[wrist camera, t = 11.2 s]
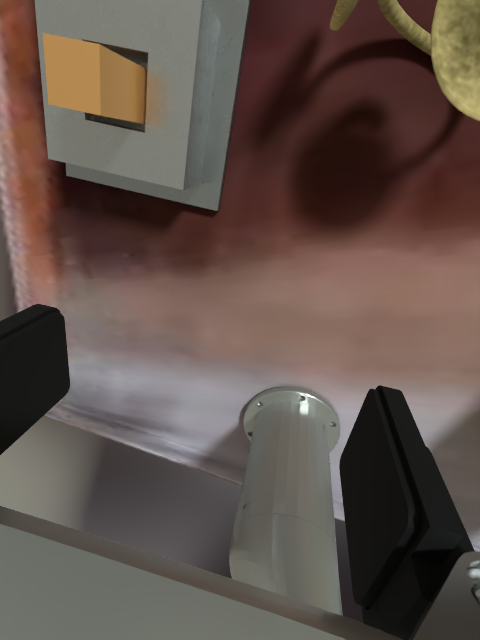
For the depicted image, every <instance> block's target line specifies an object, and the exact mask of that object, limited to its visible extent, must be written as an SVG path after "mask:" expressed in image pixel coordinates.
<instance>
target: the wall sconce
mask: <svg viewBox="0 0 480 640" xmlns="http://www.w3.org/2000/svg"><path fill="white" fill-rule="evenodd" d="M377 1H378V4H379V7H380V9H381V11H382V13H383V14H384V16H385V18H386V19H387V20H388V21H389V23H390V24H391V25H392V26H393V27H394V28H395V29H396V30H397V31H398V32H399V33H400V34H401V35H402V36H403V37H404V38H405V39H407V40H408V41H409V42H411V43H412V44H413V45H415V46H416V47H417V48H419V49H420V50H422V51H424V52H425V53H427V54H428V55H430V56H431V58H432V64H433V70H434V73H435V76H436V79H437V82H438V84H439V86H440V88H441V90H442V92H443V94H444V95H445V96H446V98H447V99H448V100H449V102H450V103H451V104H452V105H453V106H454V107H455V108H456V109H458V110H459V111H460V112H462V113H463V114H465V115H466V116H468V117H471V118H473V119H475V120H478V121H480V0H438V1H437V4H436V8H435V12H434V17H433V22H432V30H431V34H429V33H428V32H426V31H425V30H424V29H422V28H421V27H420V26H419V25H418V24H416V23H415V22H414V21H413V20H412V19H411V18H410V17H409V16H408V15H407V14H406V13H405V11H404V10H403V9H402V8H401V6H400V5H399V3H398V2H397V0H377ZM357 2H358V0H338V1H337V4H336V6H335V9H334V12H333V15H332V18H331V22H330V27H329V28H330V29H331V30H334V31H337V30H339V29H340V28H341V27H342V26H343V25H344V23H345V22H346V21H347V19H348V18H349V16H350V14H351V13H352V11H353V9H354V8H355V6H356V4H357Z"/></svg>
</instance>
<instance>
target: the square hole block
mask: <svg viewBox="0 0 480 640" xmlns="http://www.w3.org/2000/svg"><path fill="white" fill-rule="evenodd" d="M251 5H252V0H35V8H36V20H37V32H38V43H39V55H40V67H41V78H42V90H43V102H44V113H45V125H46V137H47V149H48V159H51V160H56V161H60V162H64V163H66V176H70V177H74V178H79V179H83V180H87V181H91V182H96V183H100V184H104V185H108V186H113V187H117V188H121V189H125V190H130V191H134V192H138V193H142V194H147V195H151V196H155V197H159V198H164V199H168V200H172V201H176V202H181V203H185V204H189V205H193V206H198V207H202V208H206V209H210V210H215V211H219V210H220V205H221V199H222V192H223V186H224V180H225V173H226V167H227V160H228V154H229V147H230V141H231V134H232V128H233V121H234V115H235V108H236V102H237V95H238V89H239V82H240V76H241V69H242V63H243V56H244V50H245V44H246V37H247V31H248V24H249V18H250V11H251ZM43 33H46V34H51V35H56V36H61V37H66V38H71V39H76V40H81V41H86V42H91V43H96V44H100V45H102V46H104V47H106V48H108V49H110V50H111V51H113V52H115V53H117V54H119V55H121V56H123V57H124V58H126V59H128V60H130V61H132V62H134V63H136V64H138V65H139V66H141V67H143V68H145V69H147V70H148V72H147V96H146V119H145V124H142V123H136V122H131V121H126V120H121V119H115V118H110V117H105V116H100V115H95V114H91V113H86V112H81V111H77V110H72V109H68V108H63V107H58V106H54V105H49V104H48V92H47V80H46V68H45V56H44V43H43Z"/></svg>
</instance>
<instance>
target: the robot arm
mask: <svg viewBox="0 0 480 640" xmlns="http://www.w3.org/2000/svg"><path fill="white" fill-rule="evenodd" d="M69 388H70V377H69V366H68V354H67V343H66V332H65V320H64V316H63V315H62V314H61V313H60V311H59V310H58V309H57V308H54V307H50V306H46V305H42V304H36V305H33V306H31V307H29V308H27V309H25V310H23V311H21V312H19V313H17V314H14V315H12V316H10V317H8V318H6V319H4V320H2V321H0V455H1V454H2V453H3V452H4V451H5V450H6V449H8V448H9V446H11V445H12V444H13V443H14V442H15V441H16V440H17V439H18V438H19V437H20V436H22V435H23V434H24V433H25V432H26V431H27V430H28V429H29V428H30V427H31V426H32V425H34V424H35V423H36V422H37V421H38V420H39V419H40V418H41V417H42V416H43V415H45V414H46V413H47V412H48V411H49V410H50V409H51V408H52V407H53V406H54V405H55V404H56V403H58V402H59V401H60V400H61V399H62V398H63V397H64V396H65V395H66V394H67V392H68V390H69ZM243 427H244V431H245V434H246V436H247V438H248V440H249V441H250V442H251V443H250V448H249V454H248V459H247V464H246V469H245V474H244V479H243V484H242V490H241V494H240V499H239V505H238V510H237V515H236V520H235V525H234V530H233V535H232V541H231V546H230V570H231V575H232V579H230V578H227V577H224V576H221V575H218V574H215V573H211V572H208V571H205V570H202V569H199V568H196V567H193V566H189V565H187V564H183V563H180V562H177V561H174V560H171V559H168V558H164V557H161V556H158V555H155V554H152V553H149V552H146V551H142V550H139V549H136V548H133V547H130V546H127V545H124V544H120V543H117V542H114V541H111V540H107V539H104V538H101V537H98V536H95V535H92V534H88V533H85V532H82V531H79V530H76V529H72V528H69V527H66V526H63V525H60V524H57V523H53V522H50V521H47V520H44V519H40V518H37V517H34V516H31V515H28V514H24V513H21V512H18V511H15V510H12V509H8V508H5V507H2V506H0V640H480V552H476V551H474V549H473V546H472V544H471V542H470V540H469V537H468V535H467V533H466V530H465V528H464V526H463V524H462V521H461V519H460V517H459V515H458V512H457V510H456V508H455V506H454V503H453V501H452V499H451V497H450V494H449V492H448V490H447V487H446V485H445V483H444V481H443V478H442V476H441V474H440V472H439V469H438V467H437V465H436V463H435V460H434V458H433V456H432V453H431V452H430V450H429V449H428V448H427V447H426V446H425V444H424V442H423V439H422V437H421V435H420V432H419V430H418V428H417V425H416V423H415V421H414V418H413V416H412V414H411V411H410V409H409V407H408V405H407V402H406V400H405V398H404V395H403V393H402V392H401V391H400V390H397V389H392V388H388V387H384V386H378V387H377V388H376V389H375V390H374V389H370V390H369V391H368V393H367V395H366V398H365V400H364V403H363V405H362V407H361V410H360V412H359V415H358V417H357V419H356V422H355V424H354V427H353V429H352V431H351V434H350V436H349V439H348V441H347V443H346V446H345V448H344V450H343V453H342V455H341V459H340V478H341V487H342V496H343V505H344V515H345V523H346V533H347V542H348V551H349V561H350V569H351V579H352V589H353V596H354V601H355V603H356V604H357V605H360V606H362V614H363V622H364V624H363V623H361V622H358V621H356V620H353V619H350V618H347V617H344V616H343V615H342V606H341V596H340V586H339V576H338V563H337V550H336V536H335V524H334V510H333V498H332V485H331V471H330V458H329V452H330V451H331V450H332V449H334V447H335V446H336V444H337V442H338V440H339V437H340V424H339V419H338V416H337V413H336V412H335V410H334V409H333V407H332V406H331V405H330V404H329V403H328V402H327V401H326V400H325V399H323V398H322V397H321V396H319V395H317V394H315V393H313V392H311V391H308V390H305V389H302V388H296V387H278V388H272V389H269V390H266V391H264V392H262V393H260V394H258V395H257V396H256V397H255V398H253V399H252V400H251V402H250V403H249V404H248V406H247V408H246V411H245V414H244V418H243ZM378 629H379V630H378ZM381 630H382V631H381Z"/></svg>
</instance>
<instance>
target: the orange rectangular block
mask: <svg viewBox="0 0 480 640" xmlns="http://www.w3.org/2000/svg"><path fill="white" fill-rule="evenodd" d="M43 43H44V56H45V68H46V80H47V92H48V104H49V105H54V106H58V107H63V108H68V109H72V110H77V111H81V112H86V113H91V114H95V115H100V116H105V117H110V118H115V119H121V120H126V121H131V122H136V123H142V124H145V119H146V96H147V72H148V70H147V69H145V68H143V67H141V66H139V65H138V64H136V63H134V62H132V61H130V60H128V59H126V58H124V57H123V56H121V55H119V54H117V53H115V52H113V51H111V50H110V49H108V48H106V47H104V46H102V45H100V44H96V43H91V42H86V41H81V40H76V39H71V38H66V37H61V36H56V35H51V34H46V33H43Z"/></svg>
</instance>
